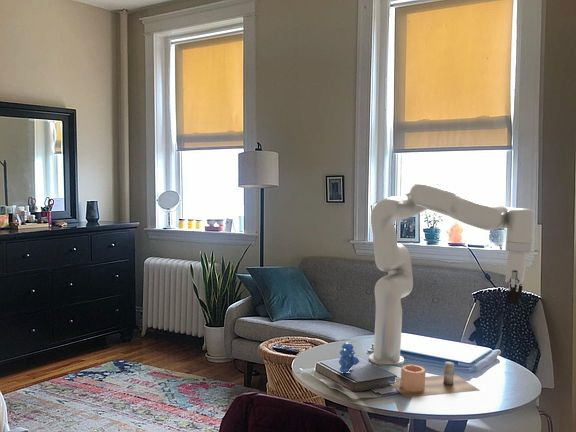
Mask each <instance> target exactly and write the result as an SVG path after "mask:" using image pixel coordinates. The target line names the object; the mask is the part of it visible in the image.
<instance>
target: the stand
mask: <svg viewBox="0 0 576 432" xmlns="http://www.w3.org/2000/svg"><path fill="white" fill-rule="evenodd" d="M443 371H444V372H443V374H442V375H441V374H440V375H433V376H425V388H424V389H423V391H416V392H413V391H408V390H405V389H403V388H402V387H401V386H400V385H401V378H398V379H396V378H395V379H396V382H395V383H394V384H389V385H390V386H391V387H393V388H394V389H395V390H397V392H399V393H400V394H401V395H403V396H404V398H415V397H416V398H417V397H426V396H436V395H445V394H456V393H458V394H459V393H467V392H474V391H475V392H478V391H480V389H479V388H477V387H476V386H474V385H473V384H471V383H469V382H468V381H466V380H465V379H464V378H461V377H460V376H459V375H457V374H454V373H455V363H454V362H453V361H444V370H443Z"/></svg>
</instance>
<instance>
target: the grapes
mask: <svg viewBox="0 0 576 432" xmlns="http://www.w3.org/2000/svg"><path fill="white" fill-rule="evenodd" d="M341 348H342V349H341V350H340V351H339V353H338V354H340V356H341V357H340V358H339V360H338V364H339V365H340V367H339V368H338V369H339V371H341V372H343V373H346V372H348V371H349V369H350V368H351V367H352V368H353V366H356V365H358V364H359V363H360V360H359V358H358V356H356V355H355V354H356V352H355V351H354V346H353V344H352V342H344V343H343V344H342V346H341ZM341 372H340V373H341Z"/></svg>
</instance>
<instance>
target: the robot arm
mask: <svg viewBox="0 0 576 432" xmlns="http://www.w3.org/2000/svg"><path fill="white" fill-rule="evenodd" d="M427 210H429V211H433V212H436V213H440V214H442V215H444V216H448V217H451V218H452V219H454V220H457V221H459V222H461V223H464V224H465V225H469V226H471V227H475V228H478V229H480V230H484V231H496V230H499V229H500V230H501V229H506V238H505V252H508V253H507V261H506V268H505V278H504V279H505V280H504V282H505V283H506V284H508V290H507V298H506V299H507V300H506V302H507V304H511V305H518V304H519V299H522V297H523V282H524V280H525V275H526V269H527V267H526V265H527V257H528V255H527V254H532V244H533V243H532V242H533V232H534V231H533V230H534V229H533V228H534V217H535V216H534V211H533V210H532V209H530V208H525V207H523V208H522V207H508V206H503V205H491V206H489V205H485V204H482V203H478V202H475V201H472V200H470V199H468V198H466V197H464V196H463V194H462V193H460V192H459V191H457V190H456V191H455V190H452V189H448V188H445V187H442V186H440V185H439V184H438V183H436V182H433V181H419V182H417V183H415V184H414V185H413V186H412V187H411V189H410V191H409V192H407V193H406V194H404V195H399V196H397V195H396V196H389V197H388V196H387V197H386V198H383V199H381V200H380V201H378V202H377V203H376V204H375V206H374V207H373V209H372V210H371V214H370V225H371V233H372V243H373V253H374V260H375V261H374V262H375V265H376V267H377V268H378V270H380V271H381V272H386V273H387V272H388V273H387V274H388V275H384V276H382V277H380V278H379V279H378V280H377V281H376V283H375V285H374V299H375V300H374V301H375V318H374V319H375V321H374V322H375V324H374V343H373V345H372V348H373V352H372V353H371V354H369V356H368V358H369V361H370V362H371V363H373V364H375V365H379V366H393V365H402V364H403V365H404V363H405V358H404V356H402V355H401V346H402V345H401V344H402V343H401V342H402V326H403V325H402V324H403V323H402V322H403V307H402V301H401V300H402V299H403V298H406V297H407V296H409V295H410V293H411V292H412V290H413V288H414V276H413V268H412V266H413V265H412V260H411V255H410V252H409V250H408V248H407V247H406V246H405V245H403V244H402V243H399V242H398V239H397V238H398V237H397V230H396V228H395V226H394V222H395V221H400V220H407V219H411V218H413V217H414V216H416V215H419V214H420V213H423V212H425V211H427Z"/></svg>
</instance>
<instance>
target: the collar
mask: <svg viewBox="0 0 576 432" xmlns="http://www.w3.org/2000/svg"><path fill="white" fill-rule="evenodd" d="M400 369H401V371H400V379H401V385H400V386H401V387H402V388H403V389H405V390H408V391H413V392H416V391H423V389H424V388H425V377H426V369H427V368H424V367H423V366H421V365H417V364H405V365H404V364H403V366H401V368H400Z"/></svg>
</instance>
